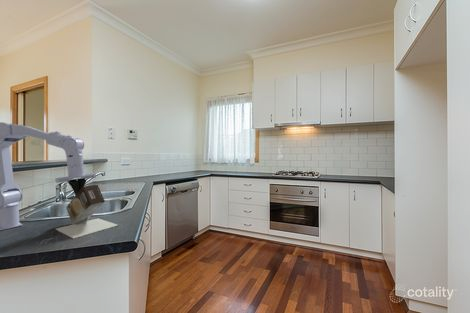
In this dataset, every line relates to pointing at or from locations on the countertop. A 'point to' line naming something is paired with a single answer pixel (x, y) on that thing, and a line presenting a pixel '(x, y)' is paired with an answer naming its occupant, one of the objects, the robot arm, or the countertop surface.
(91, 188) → the coffee box
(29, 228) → the countertop surface
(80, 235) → the mat
